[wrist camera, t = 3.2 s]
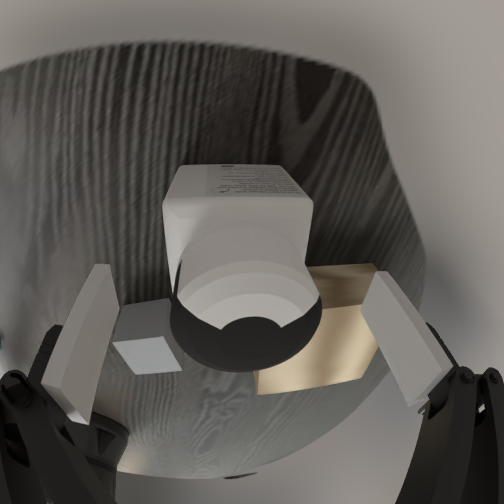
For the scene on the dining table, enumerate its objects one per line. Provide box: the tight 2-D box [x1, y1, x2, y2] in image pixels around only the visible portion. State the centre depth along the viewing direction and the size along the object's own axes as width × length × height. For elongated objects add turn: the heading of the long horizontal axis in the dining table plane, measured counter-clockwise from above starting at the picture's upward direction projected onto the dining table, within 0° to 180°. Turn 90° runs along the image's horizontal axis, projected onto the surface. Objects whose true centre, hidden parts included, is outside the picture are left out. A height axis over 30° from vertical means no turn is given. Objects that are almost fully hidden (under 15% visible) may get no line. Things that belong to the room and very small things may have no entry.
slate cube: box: [112, 298, 183, 374], centre depth 25 cm, size 5×5×5 cm
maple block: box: [253, 263, 379, 395], centre depth 27 cm, size 12×12×6 cm
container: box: [162, 164, 322, 372], centre depth 16 cm, size 8×8×13 cm
